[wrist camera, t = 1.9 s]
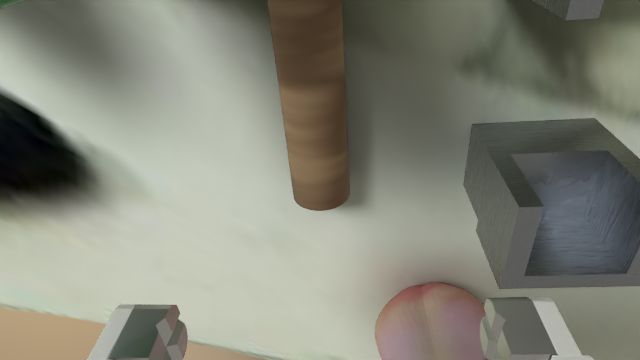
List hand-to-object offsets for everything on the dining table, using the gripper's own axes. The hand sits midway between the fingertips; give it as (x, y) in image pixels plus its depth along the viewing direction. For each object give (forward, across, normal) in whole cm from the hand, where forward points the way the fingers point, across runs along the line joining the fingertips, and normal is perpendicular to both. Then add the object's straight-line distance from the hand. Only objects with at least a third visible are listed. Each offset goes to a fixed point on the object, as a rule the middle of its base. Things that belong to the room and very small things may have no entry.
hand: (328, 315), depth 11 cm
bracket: (+19, -13, +7) cm, 24 cm away
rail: (+18, 0, 0) cm, 18 cm away
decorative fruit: (+19, -7, +21) cm, 29 cm away
